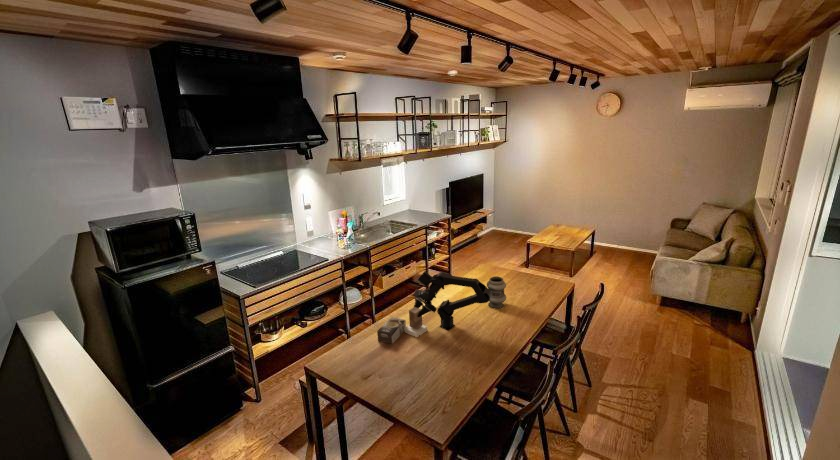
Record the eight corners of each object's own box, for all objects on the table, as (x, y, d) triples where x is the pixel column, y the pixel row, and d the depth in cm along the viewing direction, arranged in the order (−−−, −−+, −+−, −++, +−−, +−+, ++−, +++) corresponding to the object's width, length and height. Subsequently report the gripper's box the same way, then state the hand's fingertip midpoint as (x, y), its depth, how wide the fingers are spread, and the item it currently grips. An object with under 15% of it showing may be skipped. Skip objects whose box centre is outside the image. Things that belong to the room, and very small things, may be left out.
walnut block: (422, 325, 214) (421, 309, 211) (416, 329, 211) (415, 313, 208) (415, 322, 218) (414, 306, 214) (409, 326, 214) (408, 310, 211)
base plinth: (427, 330, 215) (427, 326, 215) (416, 337, 209) (416, 333, 208) (415, 325, 221) (415, 321, 221) (404, 332, 215) (404, 328, 214)
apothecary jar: (484, 308, 237) (484, 281, 231) (488, 299, 247) (488, 273, 242) (504, 311, 232) (504, 284, 227) (507, 302, 243) (508, 276, 238)
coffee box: (405, 319, 216) (391, 334, 202) (406, 329, 218) (392, 344, 204) (391, 316, 219) (376, 330, 205) (391, 326, 221) (377, 341, 207)
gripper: (415, 278, 218) (398, 300, 216) (430, 290, 202) (412, 315, 200) (428, 287, 223) (411, 309, 222) (444, 300, 207) (426, 324, 206)
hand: (415, 314), depth 212 cm, fingers closed on walnut block, 6 cm apart
